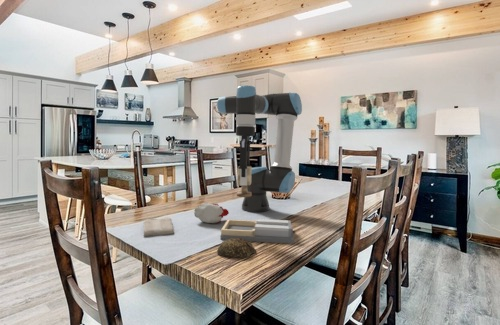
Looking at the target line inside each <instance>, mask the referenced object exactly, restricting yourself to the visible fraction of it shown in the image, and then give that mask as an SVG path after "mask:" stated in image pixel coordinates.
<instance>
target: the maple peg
mask: <svg viewBox="0 0 500 325" xmlns="http://www.w3.org/2000/svg"><path fill="white" fill-rule="evenodd" d="M252 168H253V167H252V165H251V166H247V185H251V173H252ZM236 185H237V186H241V188H240V191H237V192H236V196H237V197H238V198H239V197H240V198H244V197H251V196H252V192H248V191H247V186H246V185H240V169H238V168H237V182H236Z"/></svg>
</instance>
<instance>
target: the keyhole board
mask: <svg viewBox="0 0 500 325" xmlns="http://www.w3.org/2000/svg"><path fill="white" fill-rule="evenodd" d="M219 236H220V240H223V241H225V240H228V239H231V238H233V239H234V238H241V239H244V240H245V241H246V242H259V243H260V242H261V243H274V244H275V243H276V244H293V245H294V244H295V237H294V230H293V226H292V222H291V220H285V219H265V218H264V219H263V218H257V219H256V220H242V219H227V220H226V221H225V223H224V224H223V226H222V228H221V229H220V235H219Z"/></svg>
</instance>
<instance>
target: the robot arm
mask: <svg viewBox="0 0 500 325" xmlns="http://www.w3.org/2000/svg"><path fill="white" fill-rule="evenodd" d="M235 95H236V96H235ZM235 95H232V96H220V97H218V99H217V101H216V102H217V103H216V107H217V111H218V112H219V113H220V114H223V115H224V114H225V115H229V114H235V115H236V117H234V120H235V121H236V123H235V124H236V128H235V136H237V137H241V139H240V140H239V166H237V170H238V169H240V185H239V186H241V185H246V186H247V191H248V192H252V196H251V197H243V201H242V203H241V209H242V211H246V212H250V213H251V212H252V213H261V212H266V211H267V212H268V211H269V210H270V204H269V200H268V197H267V193H268V192H271V193H279V194H289V193H291V191H292V190H293V188H294V185H295V182H296V173H295V171H293V168H292V166H291V156H292V155H291V154H292V146H293V135H294V124H295V121H297V119H298V116H300V115H301V114H302V112H303V104H302V100H301V99H302V98H301V96H300V95H299V93H297V92H284V93H282V92H281V93H268V94H264V95H259V94H257V89H256V87H255V86H252V85H239V86H238V87H237V88H236V94H235ZM256 114H257V115H260V114H261V115H271V116H275V118H276V119H277V128H276V137H275V146H274V156H273V163H272V164H271V165H270V169H268V168H267V166H256V167H252V173H251V185H247V166H252V165H251V164H250V162H251V161H250V159H251V158H250V157H251V156H250V155H251V154H250V153H251V152H250V151H251V144H252V143H251V142H252V141H251V140H250V137H254V136H255V135H256V128H255V125H256Z"/></svg>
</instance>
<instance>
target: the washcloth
mask: <svg viewBox="0 0 500 325" xmlns="http://www.w3.org/2000/svg"><path fill="white" fill-rule="evenodd" d="M173 234H175V230H174V226H173V222H172V218H171V217H165V218H149V219H148V218H147V219H144V221H143V237H151V236H159V235H160V236H163V235H173Z"/></svg>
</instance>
